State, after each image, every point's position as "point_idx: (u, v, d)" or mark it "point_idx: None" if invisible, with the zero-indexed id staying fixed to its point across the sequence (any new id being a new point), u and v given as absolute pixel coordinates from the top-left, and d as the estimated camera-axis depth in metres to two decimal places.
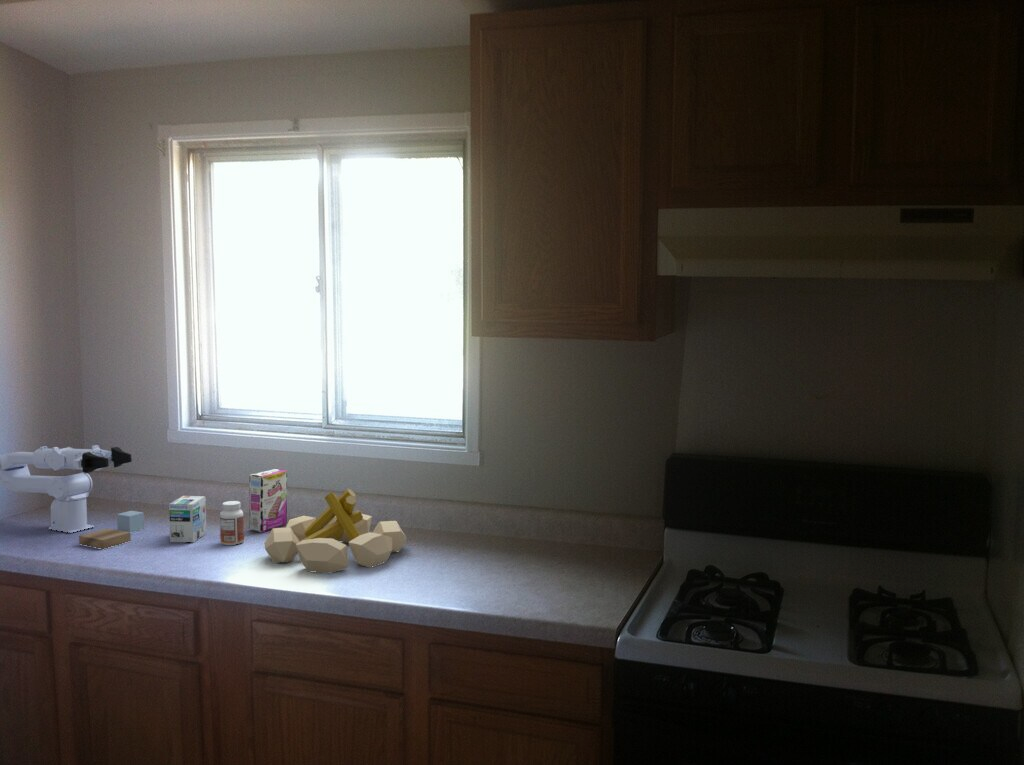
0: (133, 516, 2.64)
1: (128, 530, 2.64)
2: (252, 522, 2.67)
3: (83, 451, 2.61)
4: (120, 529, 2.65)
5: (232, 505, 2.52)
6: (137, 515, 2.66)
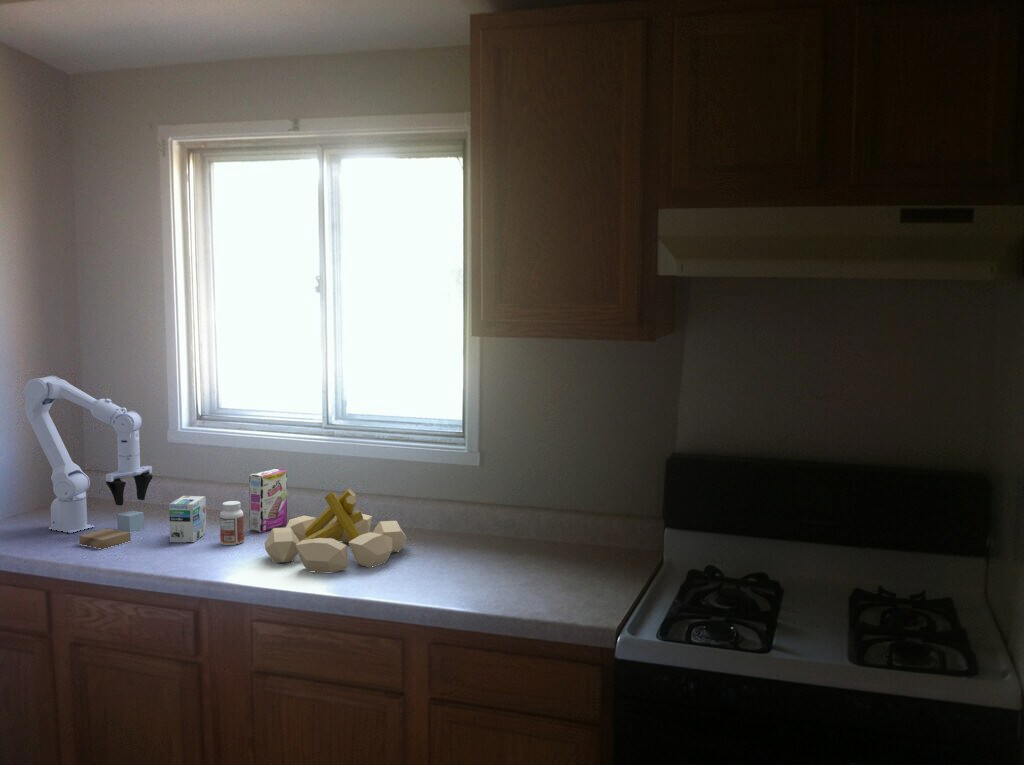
0: (133, 516, 2.64)
1: (128, 530, 2.64)
2: (252, 522, 2.67)
3: (131, 461, 2.63)
4: (120, 529, 2.65)
5: (232, 505, 2.52)
6: (137, 515, 2.66)
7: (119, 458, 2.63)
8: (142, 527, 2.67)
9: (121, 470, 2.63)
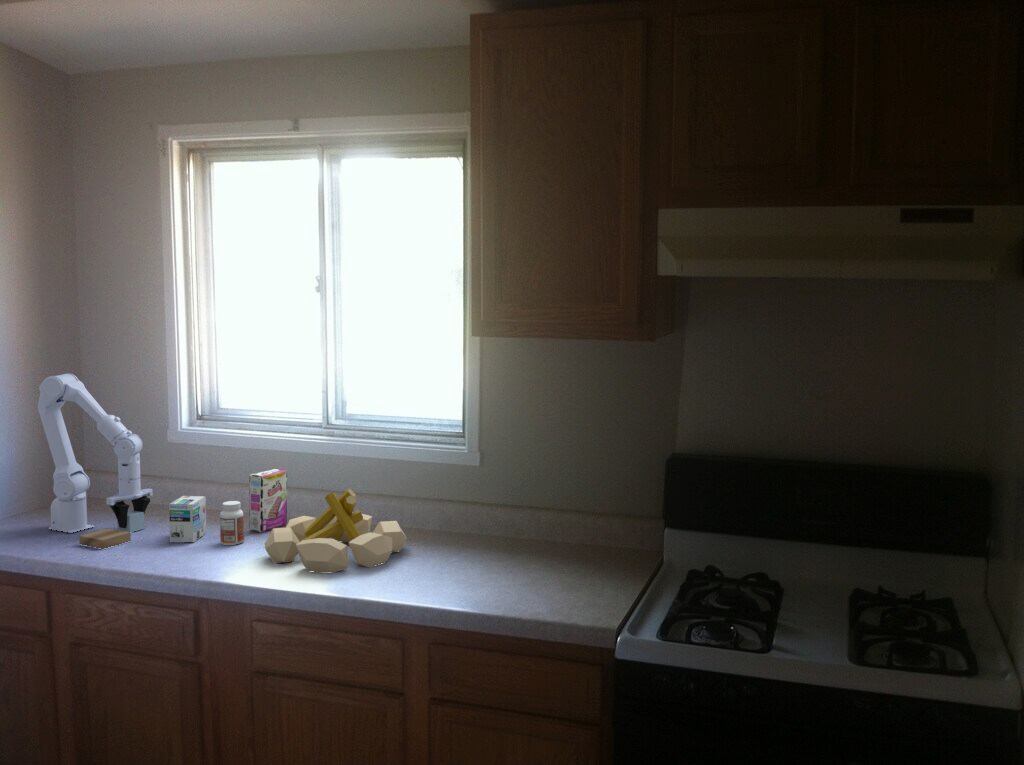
0: (133, 516, 2.64)
1: (128, 530, 2.64)
2: (252, 522, 2.67)
3: (131, 485, 2.63)
4: (120, 529, 2.65)
5: (232, 505, 2.52)
6: (137, 515, 2.66)
7: (120, 481, 2.63)
8: (142, 527, 2.68)
9: (122, 493, 2.63)
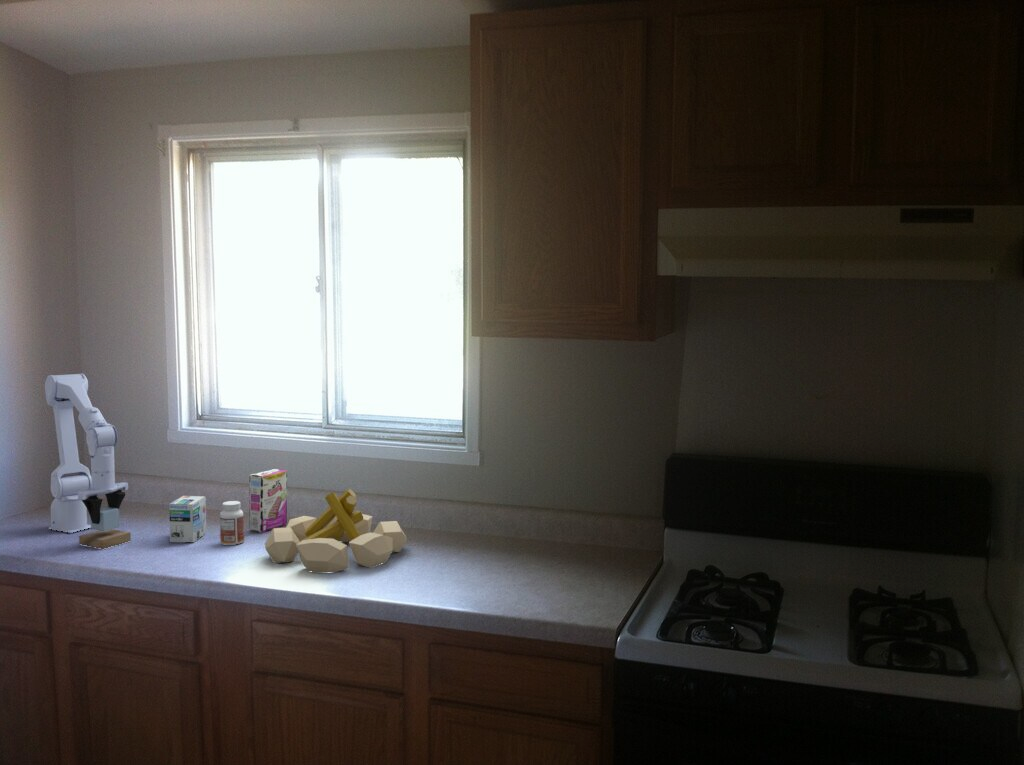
0: (107, 513, 2.50)
1: (102, 527, 2.50)
2: (252, 522, 2.67)
3: (105, 478, 2.49)
4: (94, 526, 2.51)
5: (232, 505, 2.52)
6: (112, 512, 2.51)
7: (92, 475, 2.49)
8: (117, 524, 2.53)
9: (94, 487, 2.49)
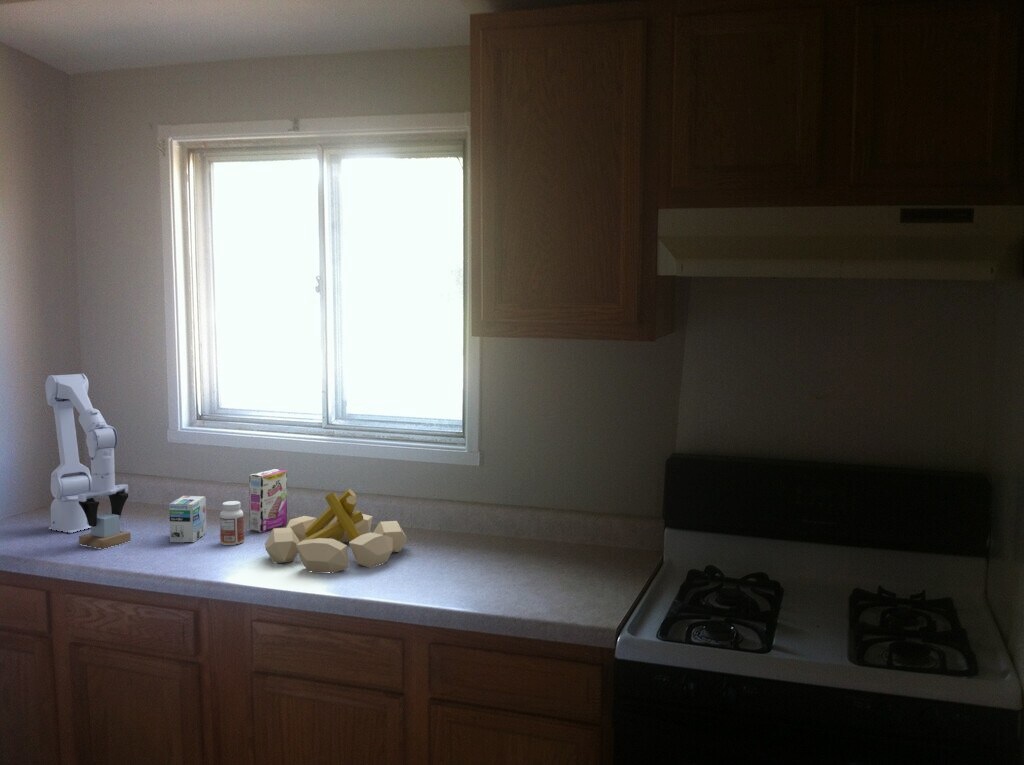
0: (108, 519, 2.50)
1: (102, 534, 2.50)
2: (252, 522, 2.67)
3: (105, 480, 2.49)
4: (94, 532, 2.51)
5: (232, 505, 2.52)
6: (112, 518, 2.52)
7: (92, 476, 2.49)
8: (117, 531, 2.53)
9: (95, 489, 2.49)
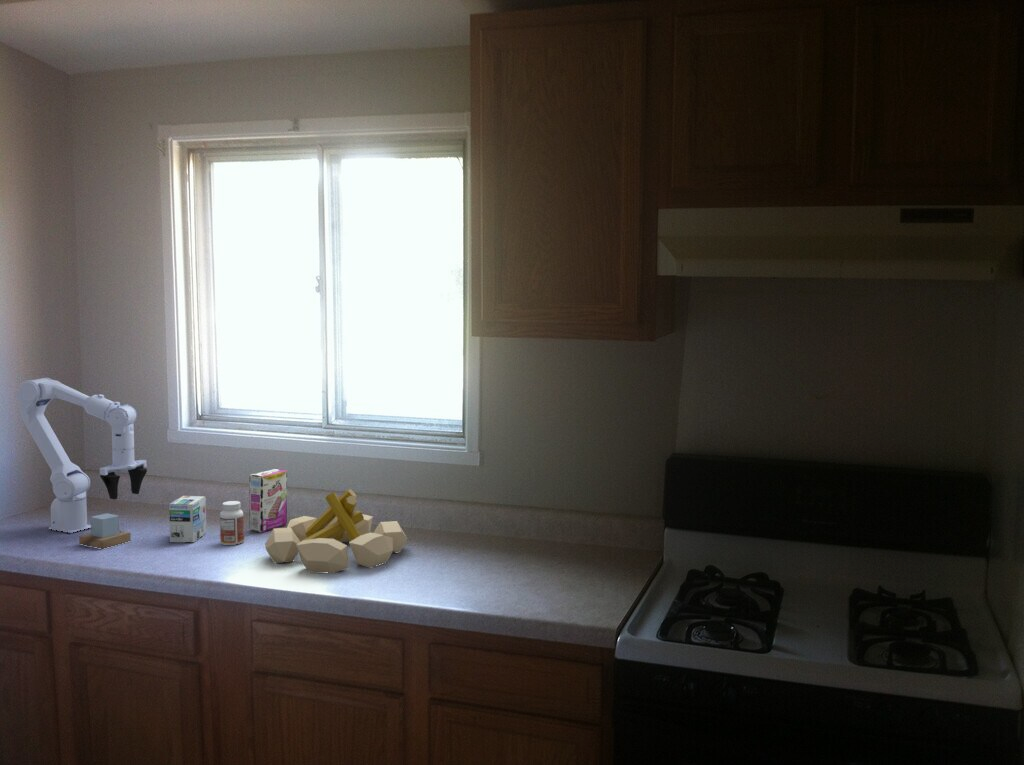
0: (107, 519, 2.50)
1: (101, 534, 2.50)
2: (252, 522, 2.67)
3: (125, 455, 2.62)
4: (94, 533, 2.51)
5: (232, 505, 2.52)
6: (111, 518, 2.51)
7: (113, 452, 2.62)
8: (117, 531, 2.53)
9: (115, 464, 2.62)
